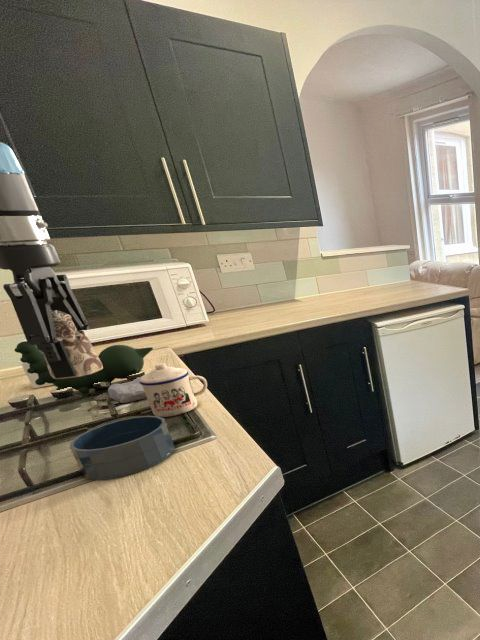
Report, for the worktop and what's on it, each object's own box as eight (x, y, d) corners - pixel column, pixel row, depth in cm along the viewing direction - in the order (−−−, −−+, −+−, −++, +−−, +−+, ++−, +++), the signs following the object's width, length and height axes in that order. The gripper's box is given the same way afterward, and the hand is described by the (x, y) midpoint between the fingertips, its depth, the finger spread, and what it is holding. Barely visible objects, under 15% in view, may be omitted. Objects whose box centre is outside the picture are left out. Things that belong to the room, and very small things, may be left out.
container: (74, 375, 127) (55, 333, 122) (71, 381, 121) (51, 338, 116) (38, 381, 122) (17, 338, 117) (33, 389, 116) (10, 344, 112)
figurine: (58, 381, 75) (28, 316, 71) (46, 375, 79) (16, 312, 74) (109, 369, 81) (83, 308, 77) (95, 363, 84) (70, 304, 80)
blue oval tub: (67, 487, 72) (52, 457, 70) (104, 450, 84) (92, 423, 82) (161, 469, 77) (150, 441, 75) (183, 436, 89) (174, 410, 86)
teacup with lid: (152, 421, 95) (133, 374, 91) (152, 409, 102) (134, 364, 98) (214, 406, 102) (200, 361, 98) (210, 395, 109) (197, 353, 104)
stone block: (180, 395, 114) (161, 382, 118) (175, 380, 112) (156, 367, 116) (127, 413, 105) (108, 399, 109) (120, 397, 102) (102, 383, 106)
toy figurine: (46, 409, 107) (165, 378, 120) (1, 340, 99) (133, 314, 112) (55, 398, 114) (166, 369, 127) (13, 332, 106) (136, 309, 119)
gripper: (12, 245, 64) (75, 384, 73) (79, 240, 81) (123, 352, 90) (-56, 248, 61) (17, 392, 70) (27, 241, 78) (78, 357, 87)
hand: (77, 369), depth 80 cm, fingers closed on figurine, 7 cm apart
